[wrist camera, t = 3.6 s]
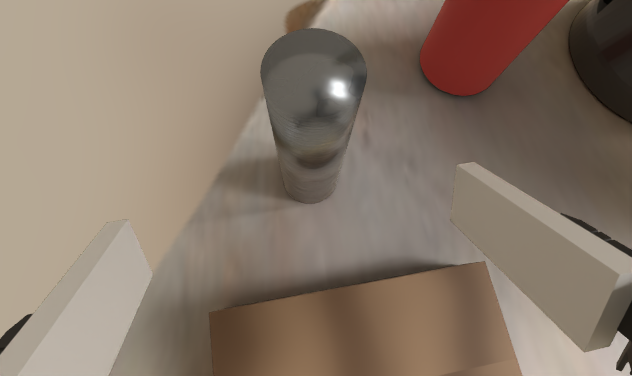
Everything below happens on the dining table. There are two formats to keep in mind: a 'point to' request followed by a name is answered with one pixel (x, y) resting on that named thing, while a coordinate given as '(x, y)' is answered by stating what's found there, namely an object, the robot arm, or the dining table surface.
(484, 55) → the beer can
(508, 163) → the dining table surface
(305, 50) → the steel pin
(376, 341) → the socket block
